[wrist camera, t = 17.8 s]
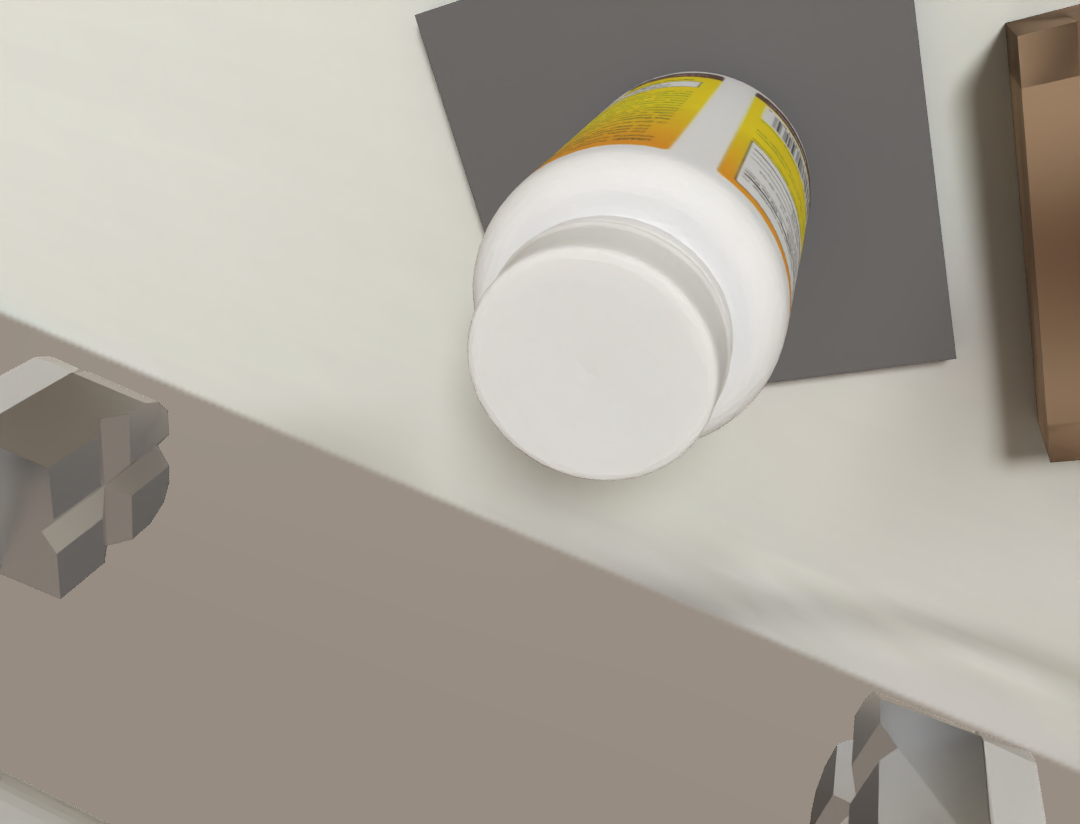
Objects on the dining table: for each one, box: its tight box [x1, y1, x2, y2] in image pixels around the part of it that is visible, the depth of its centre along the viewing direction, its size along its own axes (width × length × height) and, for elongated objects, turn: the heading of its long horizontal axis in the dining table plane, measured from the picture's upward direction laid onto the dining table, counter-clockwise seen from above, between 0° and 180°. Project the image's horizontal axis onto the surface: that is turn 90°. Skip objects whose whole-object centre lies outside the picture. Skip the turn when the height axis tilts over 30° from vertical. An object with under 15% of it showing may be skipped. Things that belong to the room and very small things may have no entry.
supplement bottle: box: [468, 72, 811, 480], centre depth 18 cm, size 6×6×10 cm
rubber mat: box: [415, 0, 956, 383], centre depth 23 cm, size 11×11×1 cm
